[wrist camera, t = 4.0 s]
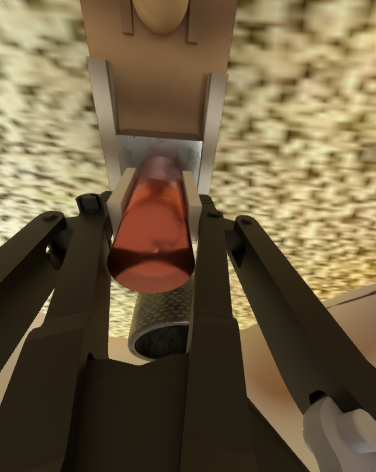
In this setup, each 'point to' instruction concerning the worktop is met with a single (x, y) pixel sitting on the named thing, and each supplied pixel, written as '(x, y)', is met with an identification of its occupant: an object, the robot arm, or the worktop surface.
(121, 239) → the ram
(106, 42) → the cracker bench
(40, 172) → the worktop surface
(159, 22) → the walnut
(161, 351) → the planter
